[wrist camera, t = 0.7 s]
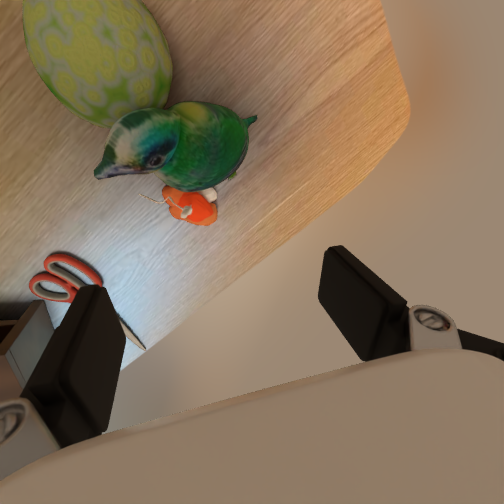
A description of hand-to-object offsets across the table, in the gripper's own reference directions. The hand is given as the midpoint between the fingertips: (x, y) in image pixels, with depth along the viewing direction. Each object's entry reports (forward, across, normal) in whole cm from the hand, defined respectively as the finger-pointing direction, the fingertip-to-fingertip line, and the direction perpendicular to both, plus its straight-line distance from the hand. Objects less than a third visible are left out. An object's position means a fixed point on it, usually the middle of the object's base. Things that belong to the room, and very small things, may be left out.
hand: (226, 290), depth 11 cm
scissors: (+24, +15, +19) cm, 34 cm away
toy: (+23, -4, 0) cm, 23 cm away
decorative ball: (+24, +6, -10) cm, 26 cm away
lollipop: (+23, +2, +3) cm, 24 cm away
